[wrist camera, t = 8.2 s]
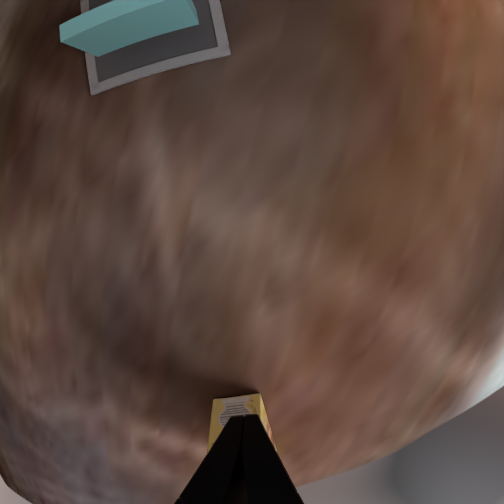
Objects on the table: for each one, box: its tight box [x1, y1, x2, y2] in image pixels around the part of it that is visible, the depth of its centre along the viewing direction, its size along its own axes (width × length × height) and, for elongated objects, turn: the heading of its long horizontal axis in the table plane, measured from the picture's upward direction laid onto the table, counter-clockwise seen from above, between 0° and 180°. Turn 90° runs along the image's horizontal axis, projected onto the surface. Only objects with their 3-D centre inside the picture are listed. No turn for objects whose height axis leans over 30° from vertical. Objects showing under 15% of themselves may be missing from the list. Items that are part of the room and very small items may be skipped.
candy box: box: [207, 393, 277, 453], centre depth 18 cm, size 9×4×15 cm, turn 12°
